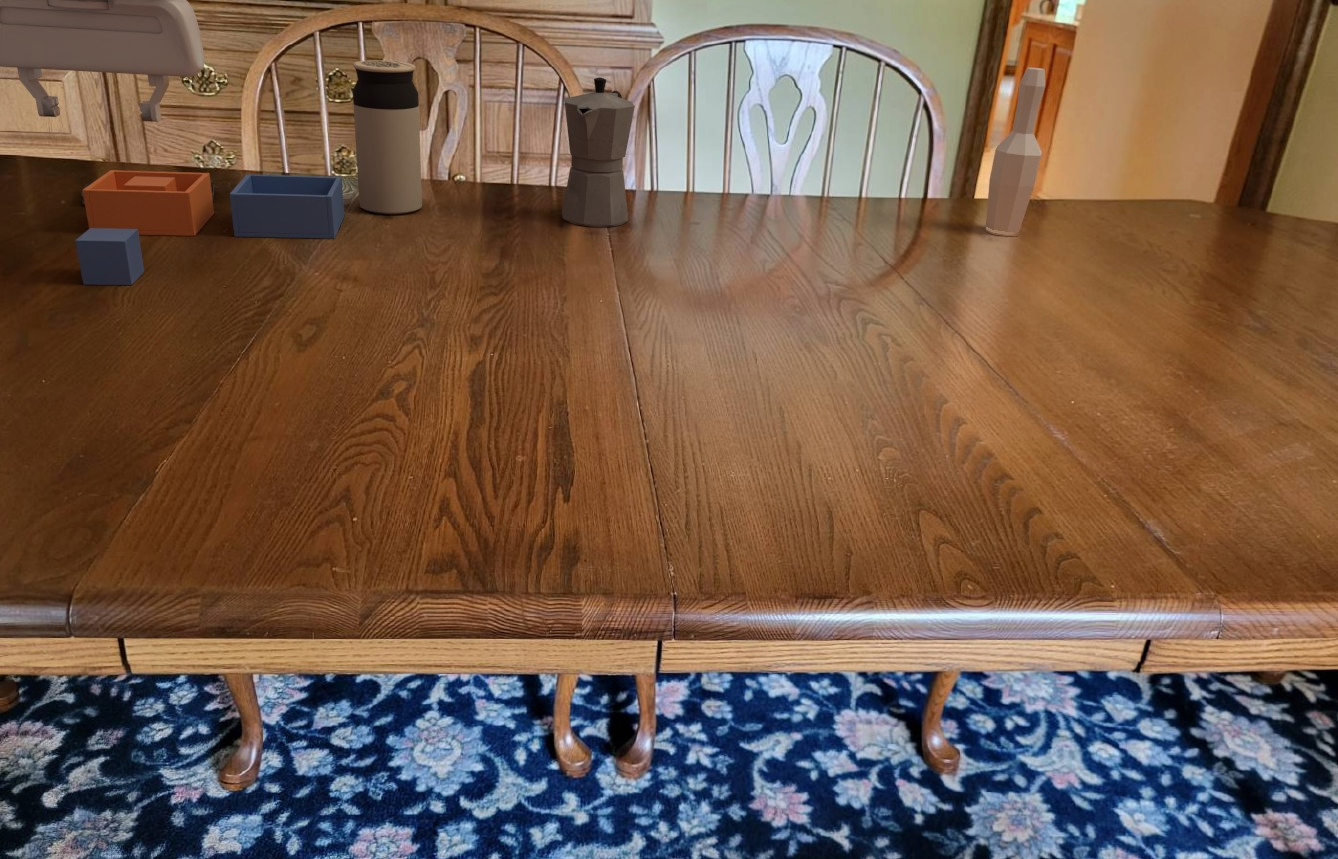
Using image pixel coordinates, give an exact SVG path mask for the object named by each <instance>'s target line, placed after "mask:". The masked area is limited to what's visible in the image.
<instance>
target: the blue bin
mask: <svg viewBox="0 0 1338 859" xmlns="http://www.w3.org/2000/svg"><path fill="white" fill-rule="evenodd" d="M229 201H230V202H229V203H230V210H231V218H232V220H231V221H232V227H233V228H232V229H233V237H234V238H236V237H237V238H276V239H277V238H280V239H281V238H282V239H283V238H284V239H332V240H334V239H336V237H337V234H338V232H339V229H340V227H341V225H342V223H343V220H344V218H345V208H344V207H345V206H344V190H343V177H342V176H322V175H321V176H320V175H286V174H285V175H284V174H279V175H278V174H255V173H254V174H253V173H252V174H251V173H246V174H245V175H244V177H243V178H242V179H241V180H240V181H239V182H238V184H237V185H236V186H235V187H233V189H232V190H231V192H230V193H229Z"/></svg>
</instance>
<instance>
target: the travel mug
mask: <svg viewBox="0 0 1338 859" xmlns="http://www.w3.org/2000/svg"><path fill="white" fill-rule="evenodd" d="M352 66H353V68H354V69H355V72H356V78H357V80H356V82H355V85H354V87H353V89H352V100H353V101H352V102H353V105H352V106H353V117H354V118H353V119H354V120H353V121H354V138H355V151H356V152H355V154H356V169H357V186H358V203H359V205H358V206H359V207H360V208H362V209H363V210H365V211H367V212H369V213H372V214H378V215H389V216H390V215H392V216H393V215H395V216H396V215H404V214H405V215H406V214H411V213H413V212H416V211H418V210H420V209H421V208H422V207H423V189H422V187H423V186H422V159H421V156H422V155H421V135H420V134H421V131H420V130H421V128H420V102H419V101H420V100H419V98H420V97H419V91H418V90H417V88H416V86H415V83H414V82H413V78H414V71H415V70H416V65H414V64H413V63H409V62H405V61H395V60H381V59H379V60H377V59H374V60H372V59H371V60H369V59H368V60H359V61H355V62H354V63H352Z"/></svg>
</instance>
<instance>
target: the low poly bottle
mask: <svg viewBox="0 0 1338 859" xmlns="http://www.w3.org/2000/svg"><path fill="white" fill-rule="evenodd" d="M1045 88H1046V72H1045V68H1040V67H1027V68H1026V69H1025V72H1024V74H1023V76H1022V78H1021V79H1020V81H1019V86H1018V95H1017V104H1016V110H1015V114H1014V121H1013V125H1012V130H1010V132H1009V133H1008V135H1006V136H1005V137H1004V139H1002V141H1001V142H1000V143H999V144H998V145H997V146H996V147H995V150H994V151H995V152H994V156H993V161H992V166H991V170H990V176H989V182H988V194H987V195H988V196H987V206H986V220H985V228H986V227H988V228H990V229H992V230H998V231H1005V232H1019V233H1020V230H1021V227H1022V224H1023V220H1024V218H1025V215H1026V212H1027V210H1028V206H1029V203H1030V201H1031V197H1032V194H1033V191H1034V188H1035V185H1036V183H1037V177H1038V173H1039V169H1040V164H1041V158H1042V154H1043V151H1042V150H1041V147H1040V145H1039V142H1038V140H1037V138H1036V136H1035V134H1034V132H1035V127H1036V122H1037V118H1038V114H1039V113H1038V112H1039V108H1040V106H1041V101H1042V98H1043V95H1044V92H1045ZM985 232H987V233H989V234H991V235H995V236H1002V237H1019V234H1018V235H1002V234H995V233H992V232H990V231H988V230H986V229H985Z"/></svg>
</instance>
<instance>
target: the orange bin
mask: <svg viewBox="0 0 1338 859" xmlns="http://www.w3.org/2000/svg"><path fill="white" fill-rule="evenodd" d="M135 176H140V177H174V178H175V182H176V189H177V191H146V190H124V186H123V185H124V184H125V183H127V182H128V181H129V180H131V179H132V178H133V177H135ZM210 181H211V174H210V173H209V172H185V171H184V172H183V171H152V170H151V171H150V170H118V169H116V170H115V169H114V170H113V169H110V170H109V171H107V172H106V173H105V174H103V175H101V176H100V177H99V178H97V179H96V180H95V181H93V182H91V183H92V184H90V185H89V186H88V187H86V188H85V189H84V188H83V189H82V191H83V197H84V202H85V205H84V209H85V212H86V213H85V214H86V220H87V224H88V230H89V229H90V228H109V229H138V233H139V236H178V237H181V236H182V237H195V236H196V235H197V234H198V233H199V232H200V231H201V229H202V228H204V226H205V225H206V224H207V223H208V221H209V220H210V219H211V218H212V217H213V215H215V210H214V209H215V208H214V202H213V199H212V191H211V183H210Z"/></svg>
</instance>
